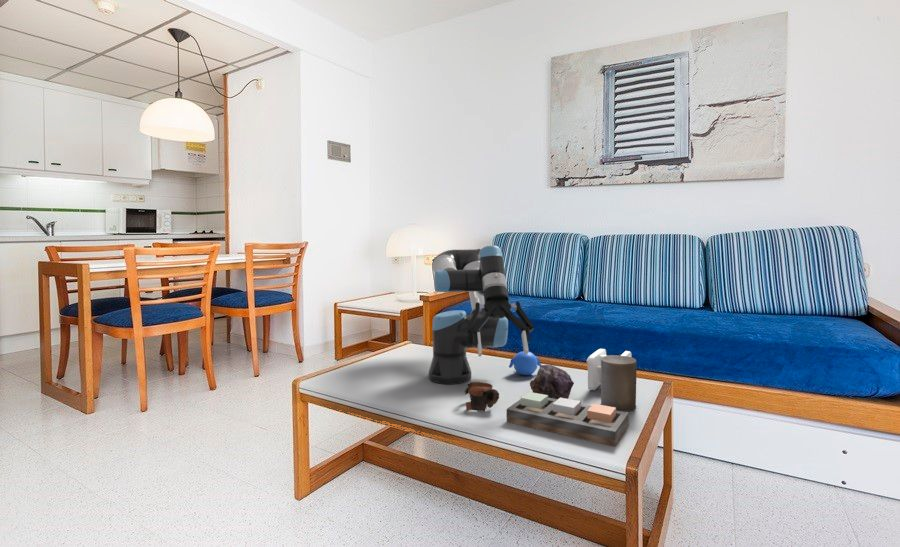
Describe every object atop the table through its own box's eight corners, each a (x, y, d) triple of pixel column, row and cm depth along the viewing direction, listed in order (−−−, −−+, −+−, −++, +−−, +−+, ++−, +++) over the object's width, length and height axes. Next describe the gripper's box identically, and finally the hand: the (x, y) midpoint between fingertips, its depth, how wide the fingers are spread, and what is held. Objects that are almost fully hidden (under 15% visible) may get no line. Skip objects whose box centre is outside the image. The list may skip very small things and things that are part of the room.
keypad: (506, 421, 123) (506, 409, 123) (527, 405, 135) (527, 393, 135) (615, 446, 108) (615, 431, 108) (628, 425, 119) (628, 412, 119)
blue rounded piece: (535, 368, 174) (535, 345, 173) (545, 377, 162) (545, 353, 161) (503, 369, 172) (503, 347, 172) (511, 379, 160) (511, 355, 160)
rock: (559, 409, 135) (577, 399, 142) (563, 381, 133) (581, 372, 141) (525, 393, 144) (544, 384, 151) (528, 366, 142) (548, 359, 149)
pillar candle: (643, 406, 133) (643, 355, 132) (622, 414, 127) (623, 361, 126) (613, 397, 141) (614, 349, 139) (593, 404, 135) (593, 354, 134)
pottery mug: (456, 410, 133) (458, 381, 137) (476, 416, 139) (477, 389, 143) (490, 408, 126) (491, 378, 129) (509, 415, 132) (510, 386, 136)
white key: (552, 411, 120) (552, 403, 120) (560, 404, 125) (560, 397, 125) (573, 415, 117) (573, 407, 117) (580, 408, 122) (580, 401, 122)
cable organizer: (620, 398, 140) (621, 360, 139) (585, 392, 146) (585, 356, 145) (631, 385, 152) (632, 350, 151) (599, 379, 158) (599, 346, 157)
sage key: (520, 404, 125) (520, 397, 125) (529, 398, 130) (529, 391, 130) (540, 408, 122) (540, 401, 122) (548, 402, 127) (548, 395, 127)
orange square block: (587, 418, 115) (587, 410, 115) (593, 411, 120) (593, 403, 120) (610, 422, 112) (610, 414, 112) (616, 415, 117) (616, 407, 117)
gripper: (456, 285, 141) (461, 350, 130) (536, 283, 143) (548, 347, 132) (454, 297, 147) (459, 360, 136) (531, 295, 149) (542, 357, 138)
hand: (503, 354), depth 134 cm, fingers open, 13 cm apart
